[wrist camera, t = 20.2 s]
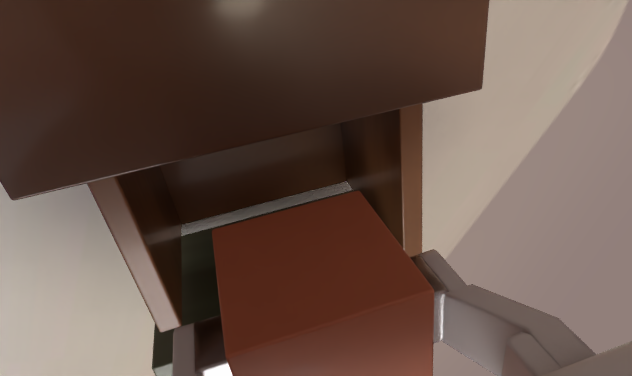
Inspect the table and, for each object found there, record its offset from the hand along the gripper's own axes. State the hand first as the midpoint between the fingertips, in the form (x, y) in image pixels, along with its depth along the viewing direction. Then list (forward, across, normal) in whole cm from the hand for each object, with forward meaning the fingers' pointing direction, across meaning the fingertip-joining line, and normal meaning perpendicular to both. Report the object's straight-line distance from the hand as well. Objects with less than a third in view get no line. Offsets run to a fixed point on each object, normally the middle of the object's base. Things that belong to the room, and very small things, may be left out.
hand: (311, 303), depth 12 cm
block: (+2, 0, 0) cm, 2 cm away
